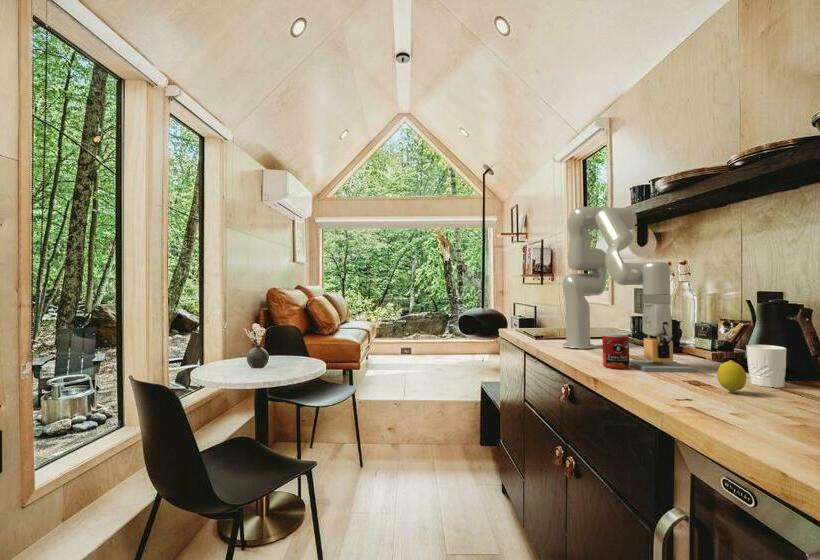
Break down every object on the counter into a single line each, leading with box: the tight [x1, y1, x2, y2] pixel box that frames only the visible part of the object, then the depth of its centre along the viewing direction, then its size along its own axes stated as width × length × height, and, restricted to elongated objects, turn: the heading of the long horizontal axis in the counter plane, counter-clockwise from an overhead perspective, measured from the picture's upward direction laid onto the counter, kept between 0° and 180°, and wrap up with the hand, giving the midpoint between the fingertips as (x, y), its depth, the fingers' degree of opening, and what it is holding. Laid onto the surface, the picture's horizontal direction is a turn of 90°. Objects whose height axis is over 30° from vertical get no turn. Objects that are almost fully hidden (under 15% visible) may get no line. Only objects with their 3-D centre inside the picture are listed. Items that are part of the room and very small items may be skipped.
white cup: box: [745, 344, 787, 389], centre depth 105 cm, size 8×8×10 cm
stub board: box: [629, 359, 695, 373], centre depth 127 cm, size 13×14×6 cm
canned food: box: [601, 331, 630, 371], centre depth 129 cm, size 8×8×11 cm
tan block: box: [643, 337, 674, 362], centre depth 127 cm, size 6×6×6 cm
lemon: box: [716, 360, 747, 394], centre depth 97 cm, size 6×6×8 cm
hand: (658, 355), depth 127 cm, fingers closed on tan block, 6 cm apart
